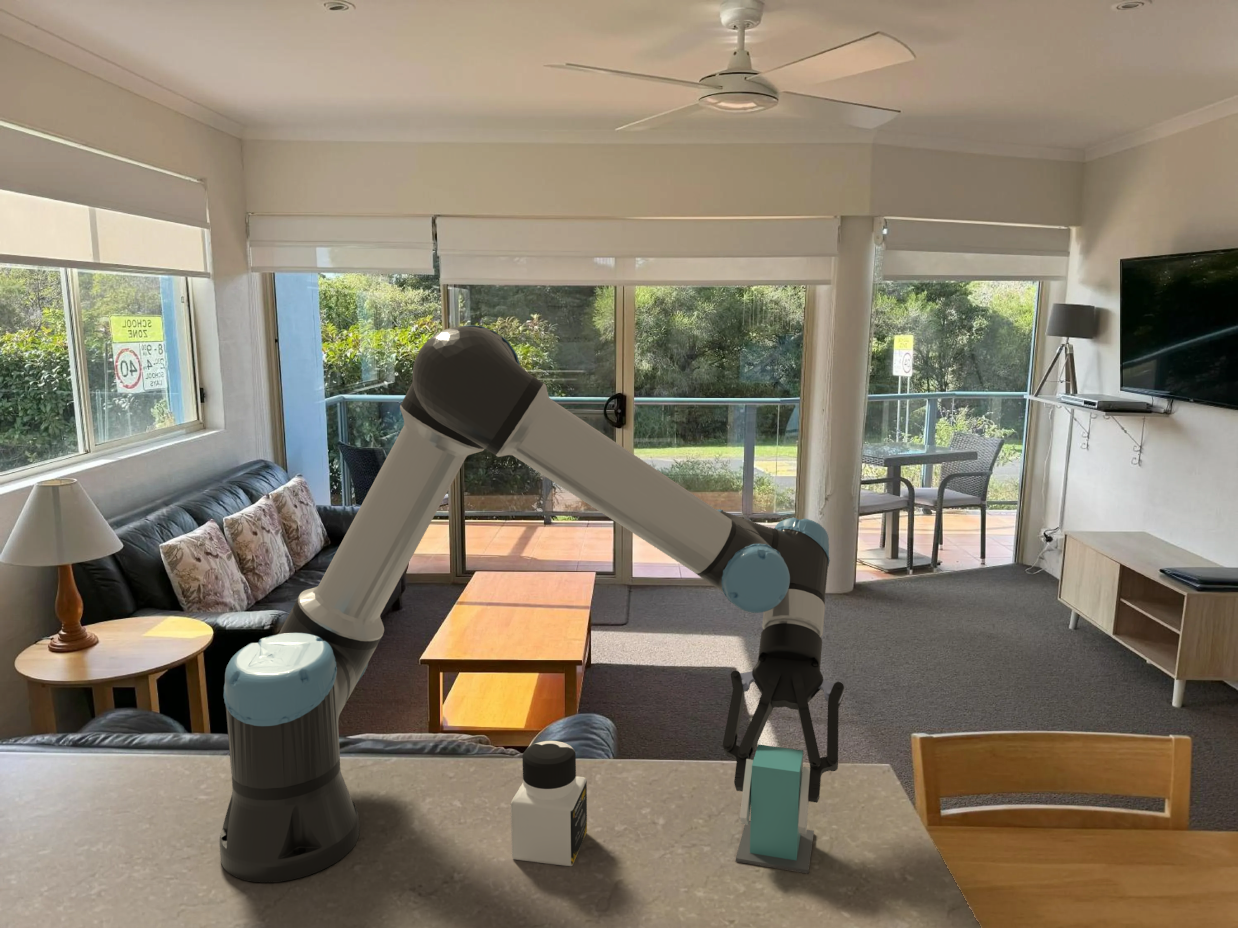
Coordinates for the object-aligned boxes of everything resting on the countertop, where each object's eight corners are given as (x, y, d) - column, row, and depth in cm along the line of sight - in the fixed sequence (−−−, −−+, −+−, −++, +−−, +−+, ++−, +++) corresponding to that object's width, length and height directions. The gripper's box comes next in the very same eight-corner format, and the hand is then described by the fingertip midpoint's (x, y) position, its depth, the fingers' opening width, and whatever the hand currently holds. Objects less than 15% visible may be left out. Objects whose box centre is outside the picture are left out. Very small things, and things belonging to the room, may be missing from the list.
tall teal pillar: (749, 852, 100) (751, 765, 98) (756, 827, 105) (758, 744, 103) (796, 860, 99) (799, 771, 97) (800, 834, 104) (803, 750, 102)
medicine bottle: (572, 867, 98) (571, 766, 96) (511, 860, 99) (508, 760, 98) (587, 832, 105) (587, 737, 103) (530, 825, 106) (528, 731, 104)
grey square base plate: (735, 861, 99) (736, 799, 98) (746, 822, 107) (747, 765, 106) (808, 873, 97) (810, 810, 96) (813, 833, 104) (815, 775, 103)
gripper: (868, 654, 111) (860, 848, 98) (721, 639, 116) (694, 821, 103) (870, 627, 105) (861, 829, 92) (714, 613, 110) (685, 802, 97)
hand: (772, 825), depth 98 cm, fingers open, 6 cm apart
